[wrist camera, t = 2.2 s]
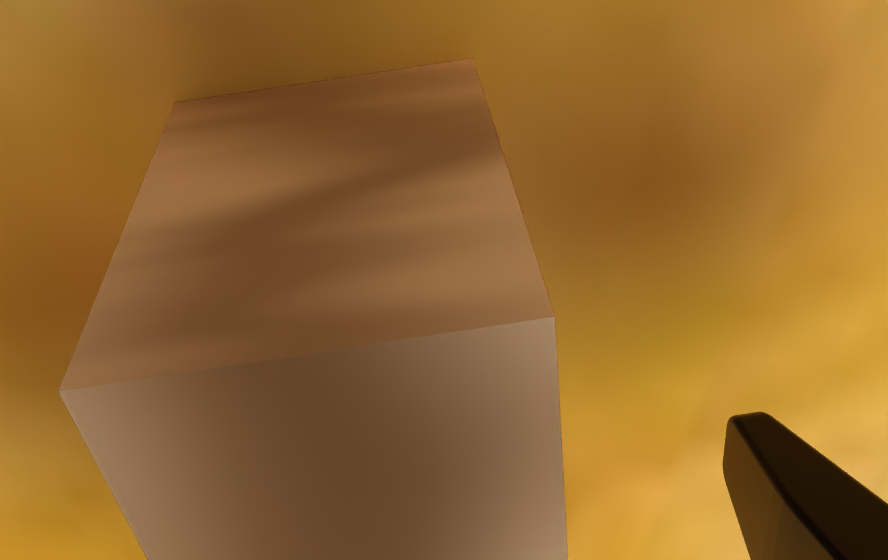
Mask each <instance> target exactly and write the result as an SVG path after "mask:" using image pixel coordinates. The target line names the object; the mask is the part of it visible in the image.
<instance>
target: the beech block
mask: <svg viewBox="0 0 888 560" xmlns="http://www.w3.org/2000/svg"><path fill="white" fill-rule="evenodd" d="M58 393H59V395H60V397H61V398H62V400H63V402H64V404H65V406H66V408H67V410H68V412H69V413H70V415H71V417H72V419H73V421H74V423H75V425H76V427H77V428H78V430H79V432H80V434H81V436H82V438H83V440H84V442H85V443H86V445H87V447H88V449H89V451H90V453H91V455H92V457H93V458H94V460H95V462H96V464H97V466H98V468H99V470H100V472H101V473H102V475H103V477H104V479H105V481H106V483H107V485H108V487H109V488H110V490H111V492H112V494H113V496H114V498H115V500H116V502H117V503H118V505H119V507H120V509H121V511H122V513H123V515H124V516H125V518H126V520H127V522H128V524H129V526H130V528H131V530H132V531H133V533H134V535H135V537H136V539H137V541H138V543H139V545H140V546H141V548H142V550H143V552H144V554H145V556H146V558H147V560H568V551H567V532H566V514H565V495H564V476H563V458H562V439H561V421H560V402H559V383H558V365H557V346H556V327H555V315H554V312H553V309H552V306H551V303H550V300H549V296H548V293H547V290H546V287H545V284H544V281H543V278H542V275H541V271H540V268H539V265H538V262H537V259H536V256H535V253H534V249H533V246H532V243H531V240H530V237H529V234H528V231H527V228H526V224H525V221H524V218H523V215H522V212H521V209H520V206H519V202H518V199H517V196H516V193H515V190H514V187H513V184H512V180H511V177H510V174H509V171H508V168H507V165H506V162H505V159H504V155H503V152H502V149H501V146H500V143H499V140H498V137H497V133H496V130H495V127H494V124H493V121H492V118H491V115H490V111H489V108H488V105H487V102H486V99H485V96H484V93H483V90H482V86H481V83H480V80H479V77H478V74H477V71H476V68H475V64H474V61H473V58H470V59H463V60H457V61H450V62H443V63H437V64H430V65H423V66H417V67H410V68H403V69H397V70H390V71H383V72H377V73H370V74H363V75H357V76H350V77H343V78H337V79H330V80H323V81H316V82H310V83H303V84H296V85H290V86H283V87H276V88H270V89H263V90H256V91H250V92H243V93H236V94H230V95H223V96H216V97H210V98H203V99H196V100H190V101H183V102H176V103H174V105H173V108H172V110H171V113H170V115H169V118H168V120H167V123H166V125H165V128H164V130H163V133H162V135H161V137H160V140H159V142H158V145H157V147H156V150H155V152H154V155H153V157H152V160H151V162H150V165H149V167H148V170H147V172H146V175H145V177H144V180H143V182H142V185H141V187H140V190H139V192H138V194H137V197H136V199H135V202H134V204H133V207H132V209H131V212H130V214H129V217H128V219H127V222H126V224H125V227H124V229H123V232H122V234H121V237H120V239H119V242H118V244H117V246H116V249H115V251H114V254H113V256H112V259H111V261H110V264H109V266H108V269H107V271H106V274H105V276H104V279H103V281H102V284H101V286H100V289H99V291H98V294H97V296H96V298H95V301H94V303H93V306H92V308H91V311H90V313H89V316H88V318H87V321H86V323H85V326H84V328H83V331H82V333H81V336H80V338H79V341H78V343H77V346H76V348H75V351H74V353H73V355H72V358H71V360H70V363H69V365H68V368H67V370H66V373H65V375H64V378H63V380H62V383H61V385H60V388H59V390H58Z"/></svg>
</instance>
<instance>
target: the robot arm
mask: <svg viewBox="0 0 888 560" xmlns="http://www.w3.org/2000/svg"><path fill="white" fill-rule="evenodd" d="M723 473H724V478H725V482H726V485H727V488H728V491H729V495H730V498H731V501H732V504H733V507H734V510H735V513H736V516H737V519H738V522H739V525H740V528H741V531H742V534H743V537H744V540H745V543H746V547H747V550H748V553H749V556H750V559H751V560H888V504H887V503H886V502H885V501H883V500H882V499H881V498H879V497H878V496H877V495H875V494H874V493H873V492H872V491H870V490H869V489H868V488H866V487H865V486H864V485H862V484H861V483H860V482H858V481H857V480H856V479H854V478H853V477H852V476H850V475H849V474H848V473H846V472H845V471H844V470H842V469H841V468H840V467H838V466H837V465H836V464H834V463H833V462H832V461H830V460H829V459H828V458H826V457H825V456H824V455H822V454H821V453H820V452H818V451H817V450H816V449H814V448H813V447H812V446H810V445H809V444H808V443H806V442H805V441H804V440H803V439H801V438H800V437H799V436H797V435H796V434H795V433H793V432H792V431H791V430H789V429H788V428H787V427H785V426H784V425H783V424H781V423H780V422H779V421H777V420H776V419H775V418H773V417H772V416H771V415H769V414H767V413H764V412H754V413H747V414H740V415H734V416H732V417H731V418H730V419H729V421H728V423H727V429H726V438H725V447H724V456H723Z"/></svg>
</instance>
